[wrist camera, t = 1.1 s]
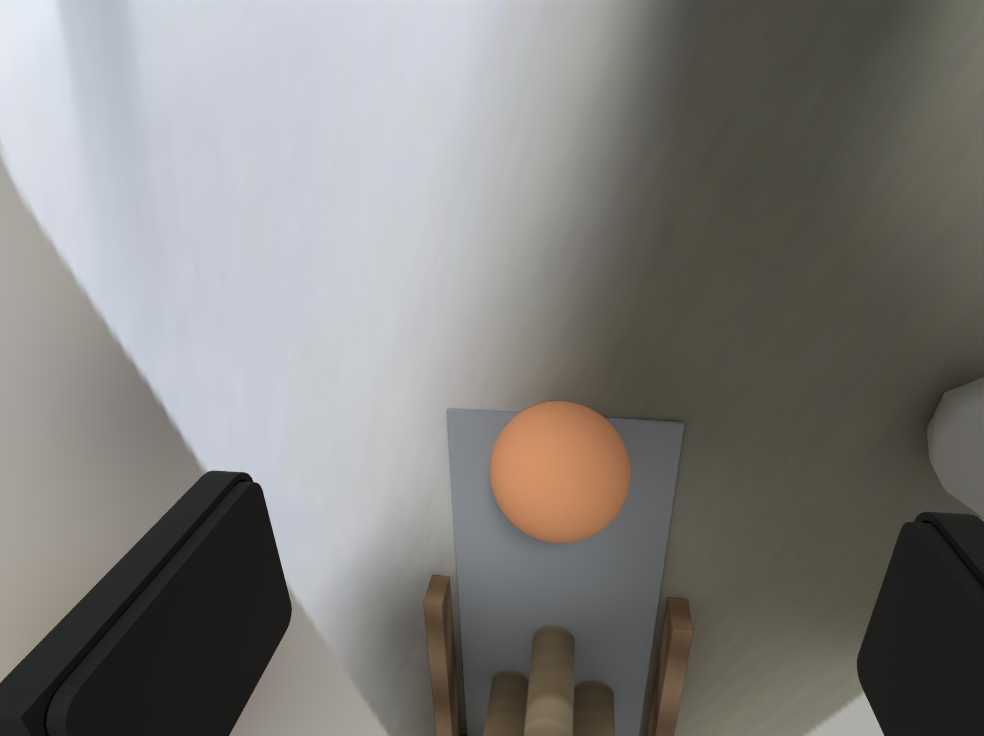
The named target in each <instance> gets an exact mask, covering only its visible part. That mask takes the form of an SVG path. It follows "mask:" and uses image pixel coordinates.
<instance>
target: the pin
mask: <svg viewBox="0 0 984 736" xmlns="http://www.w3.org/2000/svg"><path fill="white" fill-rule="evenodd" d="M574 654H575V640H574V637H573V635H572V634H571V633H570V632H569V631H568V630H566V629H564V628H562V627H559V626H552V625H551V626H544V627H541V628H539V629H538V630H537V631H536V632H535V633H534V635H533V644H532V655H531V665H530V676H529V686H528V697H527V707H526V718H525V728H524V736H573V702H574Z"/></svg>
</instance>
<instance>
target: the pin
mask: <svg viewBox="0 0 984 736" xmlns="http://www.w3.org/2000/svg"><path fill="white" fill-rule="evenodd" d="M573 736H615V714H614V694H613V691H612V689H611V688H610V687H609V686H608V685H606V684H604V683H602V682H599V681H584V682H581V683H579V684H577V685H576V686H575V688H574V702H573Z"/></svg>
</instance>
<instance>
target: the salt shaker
mask: <svg viewBox="0 0 984 736" xmlns="http://www.w3.org/2000/svg"><path fill="white" fill-rule="evenodd" d="M927 439H928V450H929V460H930V462H931V464H932V466H933V468H934V470H935V472H936V474H937V476H938V478H939V480H940V482H941V484H942V486H943V488H944V489H945V491H946V492H947V493H949V494H950V495H952V496H953V497H954V498H956V499H957V500H959V501H960V502H961V503H963V504H964V505H966V506H967V507H968V508H970V509H971V510H973V511H974V512H976V513H977V514H978V515H980V516H981V517H983V518H984V377H982V378H979V379H977V380H974V381H972V382H969V383H967V384H964V385H962V386H959V387H957V388H954V389H952V390H949V391H947V392H945V393H944V395H943V397H942V399H941V401H940V403H939V405H938V407H937V409H936V411H935V413H934V415H933V417H932V419H931V421H930V423H929V425H928V427H927Z"/></svg>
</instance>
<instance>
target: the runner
mask: <svg viewBox="0 0 984 736" xmlns="http://www.w3.org/2000/svg"><path fill="white" fill-rule="evenodd" d="M518 414H519V413H515V412H497V411H480V410H462V409H447V426H448V442H449V457H450V473H451V489H452V504H453V520H454V536H455V552H456V567H457V583H458V599H459V614H460V630H461V646H462V662H463V677H464V693H465V709H466V724H467V736H483V735H484V729H485V723H486V716H487V710H488V704H489V697H490V691H491V684H492V679H493V677H494V675H496V674H497V673H499V672H502V671H514V672H518V673H520V674H522V675H524V676H525V677H526V678H527V679H528V680H529V676H530V665H531V655H532V644H533V635H534V633H535V632H536V631H537V630H538V629H539V628H541V627H544V626H551V625H552V626H559V627H562V628H564V629H566V630H568V631H569V632H570V633H571V634H572V635H573V637H574V640H575V654H574V688H575V686H576V685H577V684H579V683H581V682H584V681H599V682H602V683H604V684H606V685H608V686H609V687H610V688H611V689H612V691H613V694H614V714H615V736H639V733H640V726H641V719H642V712H643V705H644V698H645V691H646V685H647V678H648V671H649V664H650V657H651V650H652V644H653V637H654V630H655V623H656V616H657V609H658V603H659V596H660V589H661V582H662V575H663V568H664V562H665V555H666V548H667V541H668V534H669V527H670V521H671V514H672V507H673V500H674V493H675V486H676V479H677V473H678V466H679V459H680V452H681V445H682V438H683V432H684V425H685V424H684V422H677V421H659V420H641V419H623V418H605V417H604V418H605V419H606V420H608V421H609V423H610V424H611V425H612V426H613V427H614V428H615V429H616V431H617V432H618V434H619V435H620V437H621V439H622V441H623V443H624V445H625V447H626V450H627V453H628V456H629V461H630V468H631V474H630V486H629V491H628V495H627V497H626V500H625V502H624V505H623V507H622V508H621V510H620V512H619V513H618V515H617V516H616V517H615V519H614V520H613V521H612V522H611V523H610V524H609V525H608V526H607V527H606V528H604V529H603V530H602V531H600V532H599V533H597V534H595V535H594V536H592V537H590V538H587V539H585V540H581V541H578V542H572V543H550V542H545V541H541V540H539V539H536V538H533V537H531V536H529V535H527V534H525V533H524V532H522V531H521V530H519V529H518V528H517V527H515V526H514V525H513V524H512V523H511V522H510V521H509V520H508V519H507V518H506V516H505V515H504V514H503V512H502V511H501V509H500V507H499V506H498V504H497V502H496V500H495V497H494V494H493V491H492V487H491V483H490V473H489V469H490V459H491V454H492V450H493V448H494V445H495V442H496V440H497V438H498V436H499V435H500V433H501V431H502V430H503V429H504V427H505V426H506V425H507V424H508V422H510V421H511V420H512V419H513V418H514V417H515V416H516V415H518Z"/></svg>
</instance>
